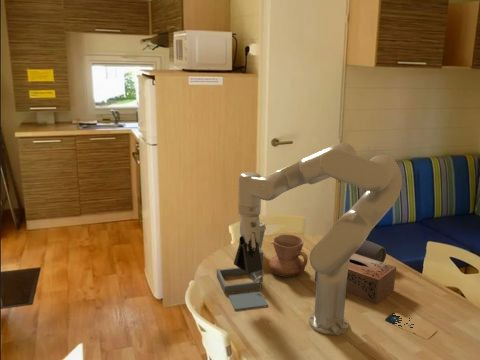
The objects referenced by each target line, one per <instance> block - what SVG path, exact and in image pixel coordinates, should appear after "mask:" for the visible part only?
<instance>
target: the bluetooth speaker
mask: <svg viewBox="0 0 480 360" xmlns="http://www.w3.org/2000/svg"><path fill="white" fill-rule="evenodd" d="M355 254H358V255H361V256H364V257H367V258H371V259H374V260H377V261H380V262H383V263H385V260H386V258H387V251H386V248H385V247H384V246H382V245H379V244H377V243H375V242H372V241H371V240H370V241H369V240H367V239H366V240H365V241H364V243H363V244H362V245H361V246H360V248H359V249H358V250H357V251H356V252H355Z"/></svg>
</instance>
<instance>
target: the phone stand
mask: <svg viewBox="0 0 480 360" xmlns="http://www.w3.org/2000/svg"><path fill="white" fill-rule="evenodd" d="M243 239H244V237H243V236H241V235H240V236H239V240H238V241H239V244H238V247H237V251H236V254H235V257H234V260H233V265H234V266H235V267H236V268H238V267H239V268H240V269H241V270H243V271H244V272H246V273H247V275H249V274H250V273H253V272H256V271H259V270H262V263H261V257H260V251H259V246H258V243H257V242H256V240H255V245H256V248H255V254H254V253H253V258H252V257H251V256H250V255H249V254H248V252H247V247H246V243H245V240H243ZM249 242H251V241H249ZM250 245H251V244H249V246H250ZM243 255H244V257H243Z"/></svg>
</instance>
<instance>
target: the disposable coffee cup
mask: <svg viewBox="0 0 480 360" xmlns="http://www.w3.org/2000/svg"><path fill="white" fill-rule="evenodd" d="M266 227H267V226H266V224H265V222H263V221H260V243H258V246H259V247H260V249H261V250H262V246H263V242H264V236H265V231H266V230H267V229H266Z"/></svg>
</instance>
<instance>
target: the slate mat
mask: <svg viewBox="0 0 480 360" xmlns="http://www.w3.org/2000/svg"><path fill="white" fill-rule="evenodd" d="M227 295H228V298H229V300H230V304H231V306H232V307H233V309H234V312H235V311H243V310H251V309H257V308H266V307H269V304H268V302H267V301H266V299H265V298H264V296H263V294H262V292H261V290H255V291H246V292H238V293H230V294H227Z"/></svg>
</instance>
